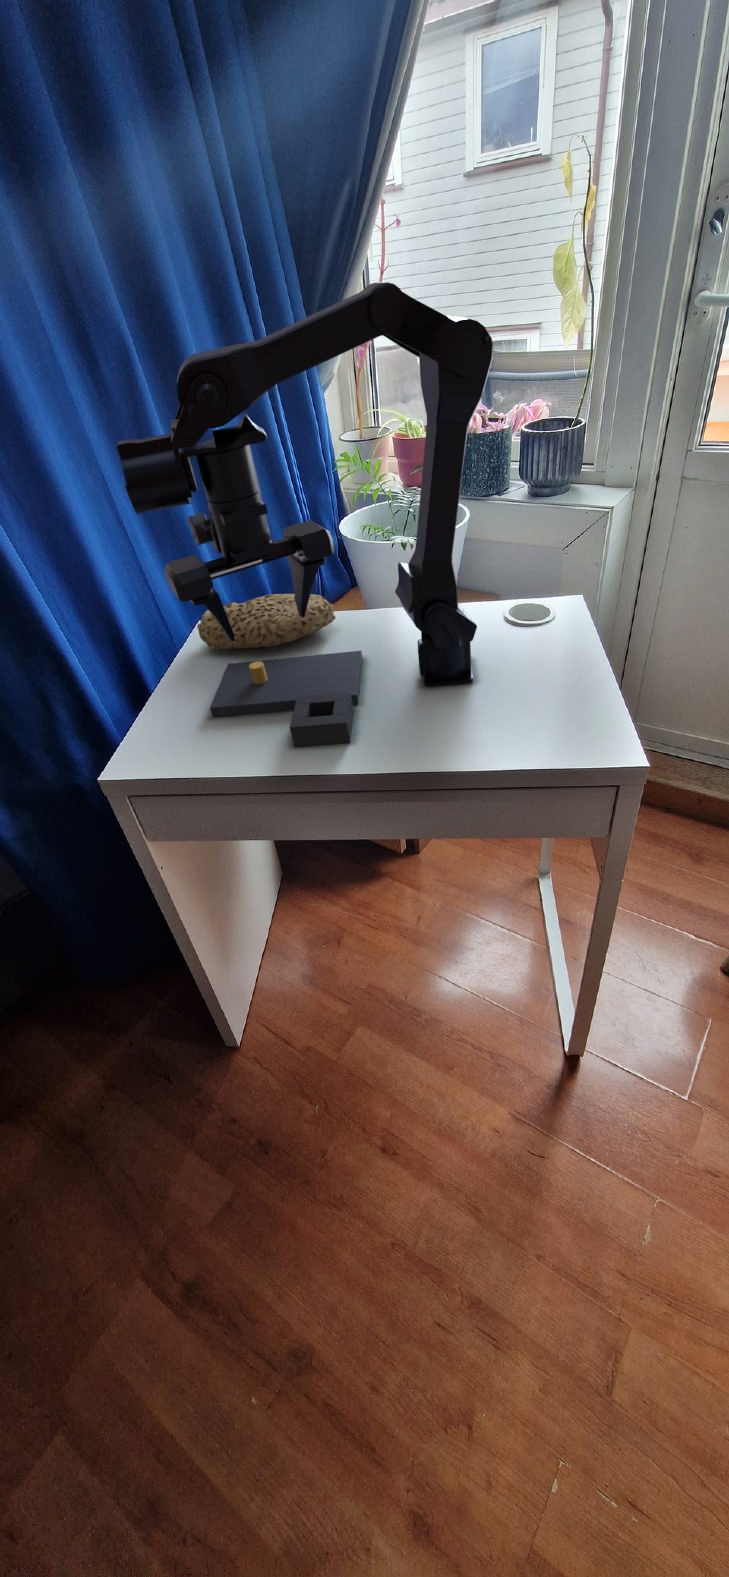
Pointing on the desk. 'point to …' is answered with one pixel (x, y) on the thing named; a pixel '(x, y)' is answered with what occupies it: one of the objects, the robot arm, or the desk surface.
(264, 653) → the desk surface
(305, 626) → the sponge
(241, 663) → the base pad
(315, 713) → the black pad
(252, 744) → the desk surface
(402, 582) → the robot arm
